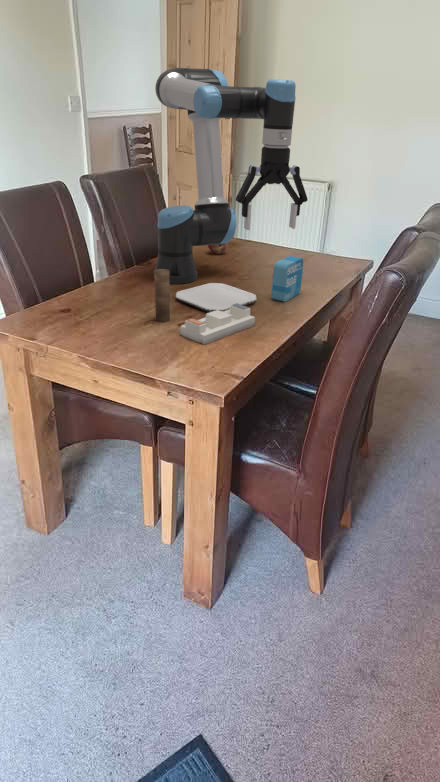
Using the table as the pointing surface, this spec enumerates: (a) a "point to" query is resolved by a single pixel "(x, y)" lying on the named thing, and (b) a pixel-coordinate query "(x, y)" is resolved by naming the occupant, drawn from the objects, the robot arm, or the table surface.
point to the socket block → (218, 324)
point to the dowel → (162, 295)
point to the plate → (215, 297)
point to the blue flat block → (287, 278)
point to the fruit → (218, 248)
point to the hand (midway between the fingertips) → (269, 228)
